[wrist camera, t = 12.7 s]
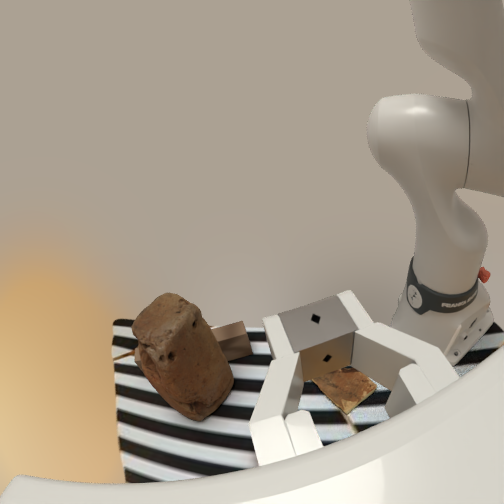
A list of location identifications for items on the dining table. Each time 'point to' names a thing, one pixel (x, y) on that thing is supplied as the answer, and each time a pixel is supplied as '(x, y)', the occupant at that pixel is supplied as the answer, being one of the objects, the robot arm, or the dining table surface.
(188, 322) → the weathered terracotta carving
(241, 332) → the board
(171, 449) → the dining table surface
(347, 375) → the brown flat angular piece
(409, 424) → the robot arm
